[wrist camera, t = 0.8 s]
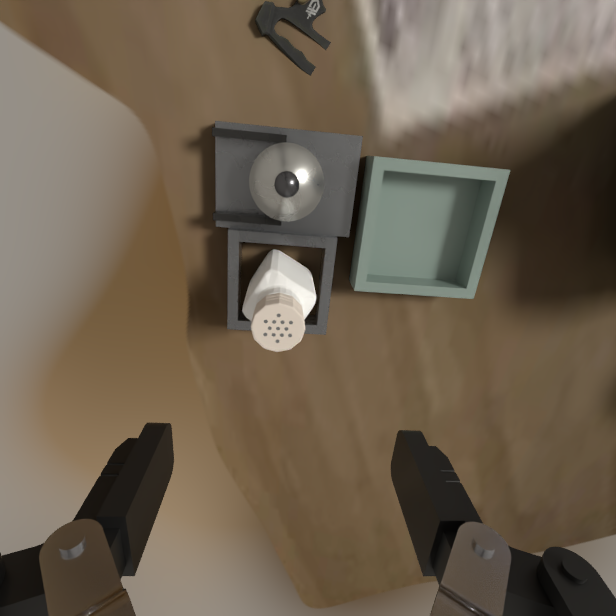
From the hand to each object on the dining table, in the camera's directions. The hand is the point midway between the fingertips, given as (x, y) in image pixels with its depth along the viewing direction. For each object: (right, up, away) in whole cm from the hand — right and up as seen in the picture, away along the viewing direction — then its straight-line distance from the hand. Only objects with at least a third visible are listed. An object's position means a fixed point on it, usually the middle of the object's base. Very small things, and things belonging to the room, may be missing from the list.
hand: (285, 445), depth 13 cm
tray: (+9, +11, +16) cm, 22 cm away
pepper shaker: (-2, +7, +17) cm, 19 cm away
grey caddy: (-1, +11, +16) cm, 19 cm away
